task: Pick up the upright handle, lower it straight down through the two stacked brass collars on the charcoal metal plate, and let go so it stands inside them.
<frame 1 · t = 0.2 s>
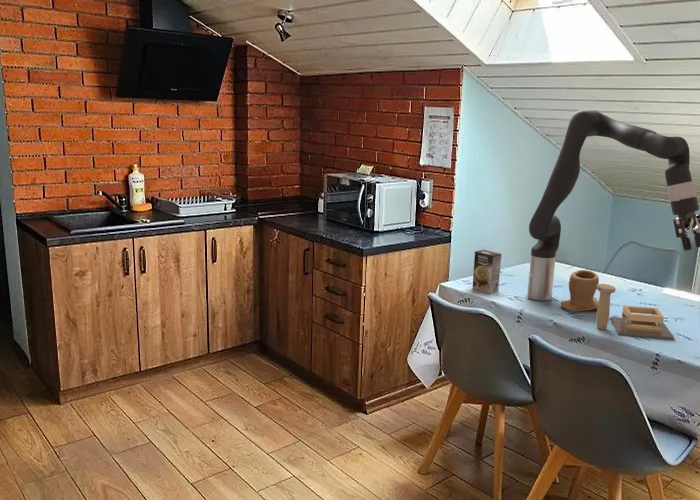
hand: (694, 248, 192), 31 cm above the table, tool tilted 20°, fingers open, 8 cm apart
handle: (601, 329, 210), on the table
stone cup: (582, 310, 230), on the table
coffee box: (485, 290, 253), on the table
collar stand: (640, 329, 210), on the table
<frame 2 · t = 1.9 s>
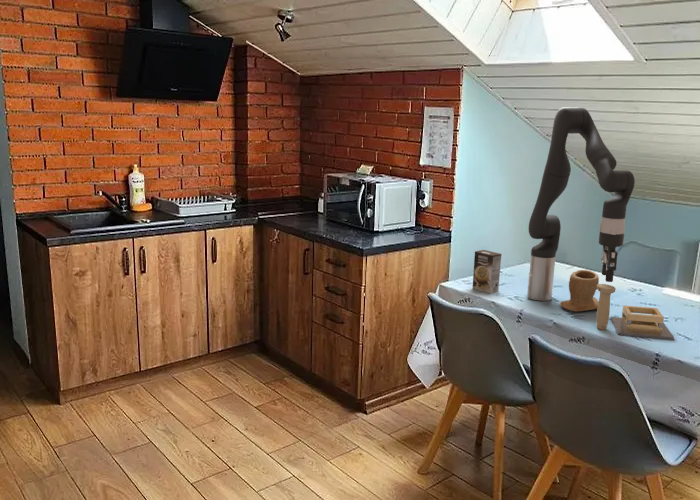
hand: (607, 278, 206), 18 cm above the table, tool pointing down, fingers open, 8 cm apart
nothing on the table moved.
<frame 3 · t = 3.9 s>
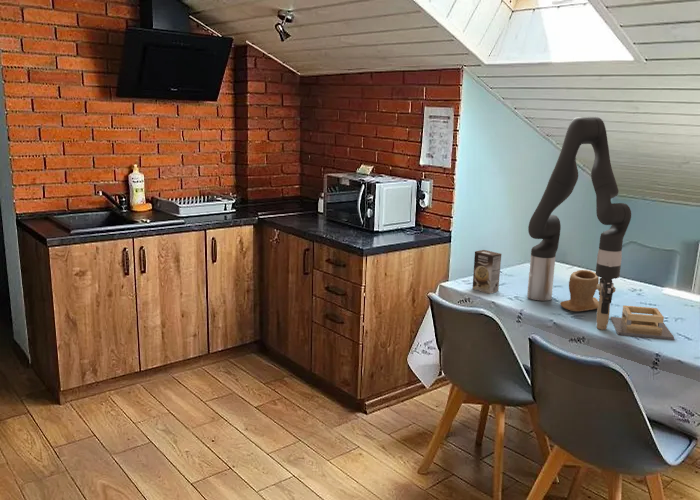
hand: (603, 311, 208), 6 cm above the table, tool pointing down, fingers closed on handle, 4 cm apart
handle: (601, 329, 210), on the table, touching gripper
everything else where it was.
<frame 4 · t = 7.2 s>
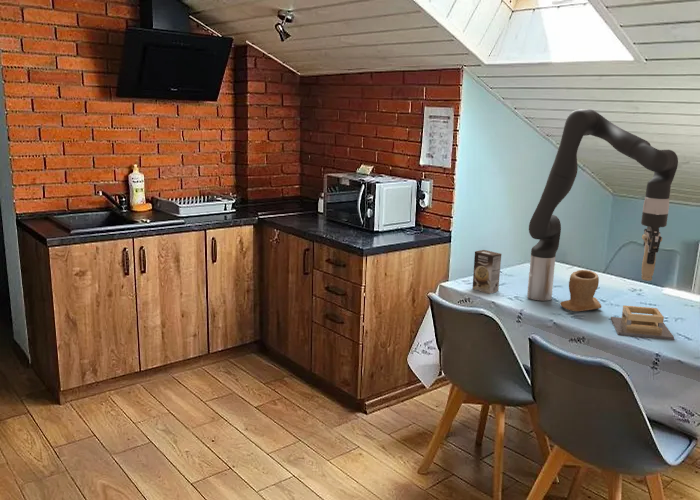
hand: (648, 261, 204), 24 cm above the table, tool pointing down, fingers closed on handle, 4 cm apart
handle: (646, 280, 206), point 17 cm above the table, touching gripper
everything else where it was.
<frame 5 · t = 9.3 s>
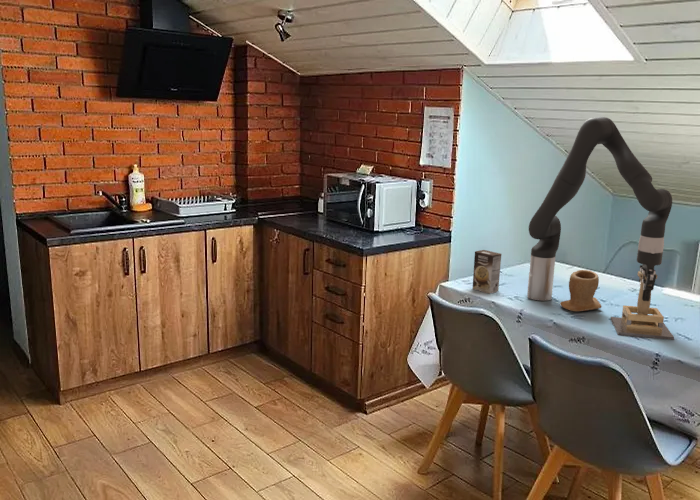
hand: (644, 298, 207), 11 cm above the table, tool pointing down, fingers closed on handle, 4 cm apart
handle: (642, 316, 209), point 5 cm above the table, touching gripper
everything else where it was.
when the fingers open (8 cm above the table, at t = 10.8 s): handle stays where it is, resting on collar stand.
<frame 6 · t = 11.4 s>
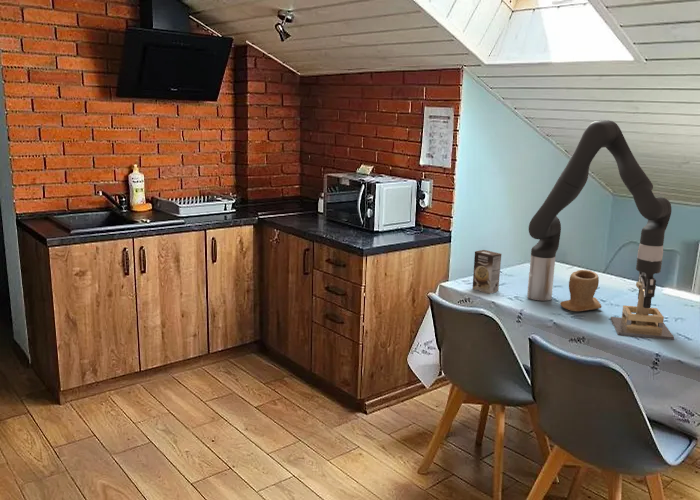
hand: (643, 303, 207), 9 cm above the table, tool pointing down, fingers open, 8 cm apart
handle: (640, 326, 209), point 1 cm above the table, touching collar stand
everything else where it was.
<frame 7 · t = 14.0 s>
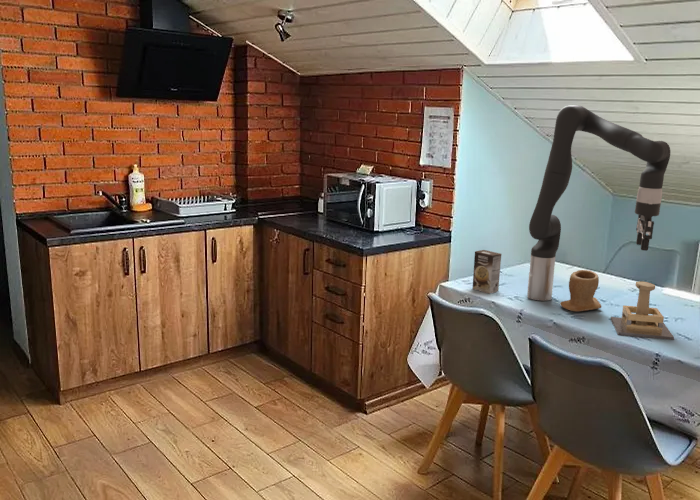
hand: (641, 247, 211), 27 cm above the table, tool pointing down, fingers open, 8 cm apart
nothing on the table moved.
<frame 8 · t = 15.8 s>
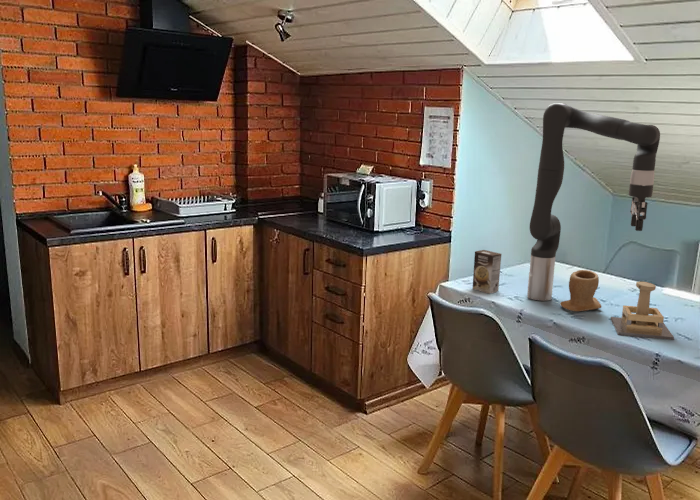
hand: (636, 228, 218), 32 cm above the table, tool pointing down, fingers open, 8 cm apart
nothing on the table moved.
at the end: handle 0.1 cm off-centre on the collar stand, point 0.8 cm above the collar stand's base; handle tilted 0°; the gripper is holding nothing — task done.
